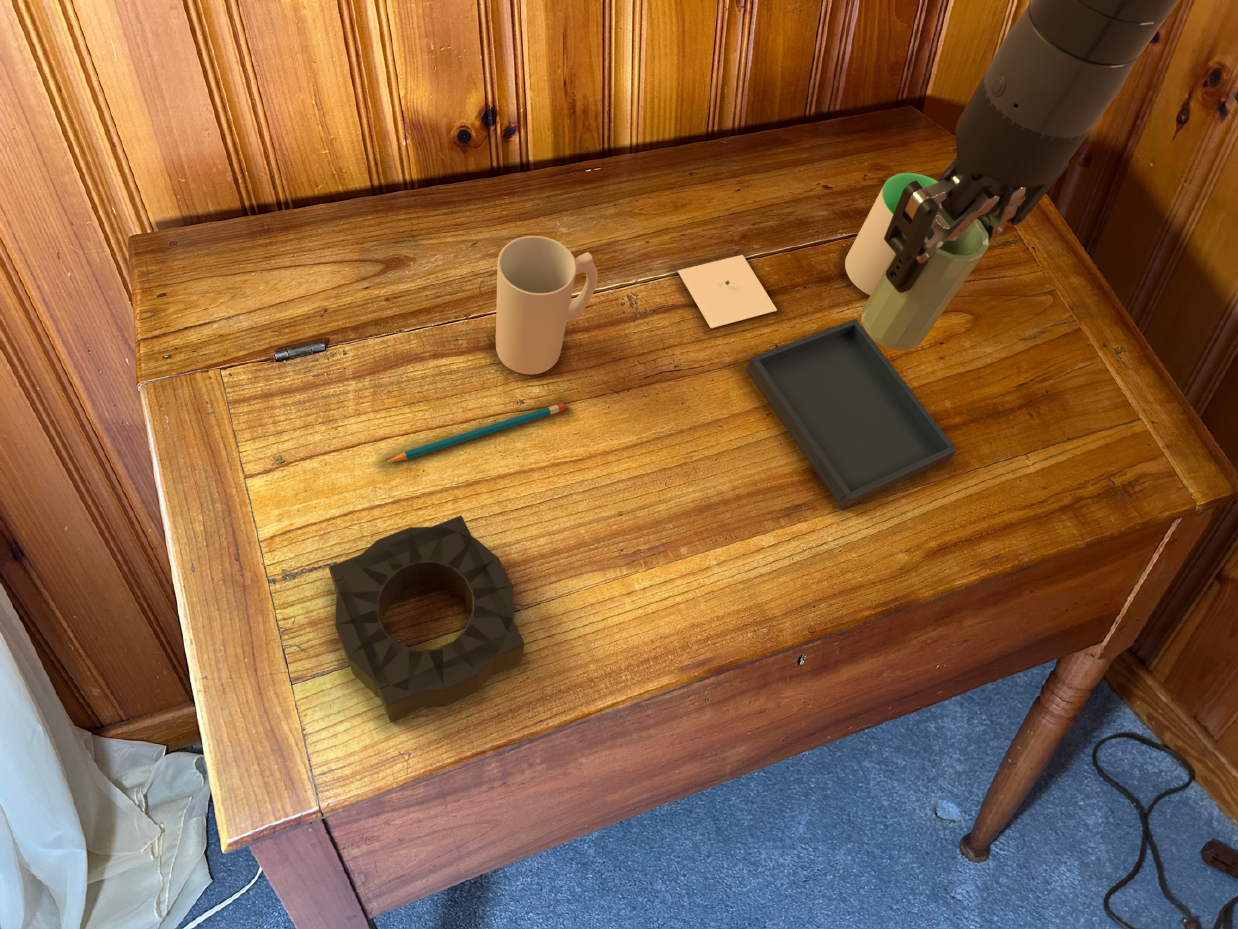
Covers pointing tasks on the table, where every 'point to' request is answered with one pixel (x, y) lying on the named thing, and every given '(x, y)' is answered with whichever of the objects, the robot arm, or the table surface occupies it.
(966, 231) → the cup
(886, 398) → the tray
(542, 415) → the pencil
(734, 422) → the table surface
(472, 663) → the dark brown carved ring
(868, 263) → the mug
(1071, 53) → the robot arm
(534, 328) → the mug
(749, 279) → the coaster
